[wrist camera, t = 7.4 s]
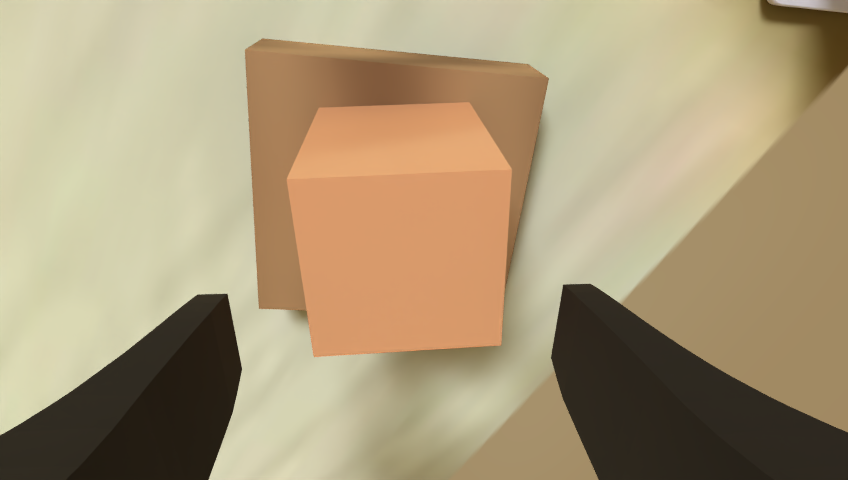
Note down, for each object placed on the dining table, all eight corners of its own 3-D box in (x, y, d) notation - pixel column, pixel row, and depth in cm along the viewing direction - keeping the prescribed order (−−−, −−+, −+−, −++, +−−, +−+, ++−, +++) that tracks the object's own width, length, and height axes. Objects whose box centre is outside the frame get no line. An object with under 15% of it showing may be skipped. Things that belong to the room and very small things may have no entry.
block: (524, 62, 19) (548, 78, 16) (485, 276, 23) (499, 317, 20) (265, 36, 17) (244, 49, 15) (273, 266, 22) (258, 308, 19)
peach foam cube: (469, 102, 16) (511, 169, 11) (466, 234, 18) (501, 345, 13) (318, 107, 16) (286, 178, 10) (334, 241, 18) (313, 356, 13)
